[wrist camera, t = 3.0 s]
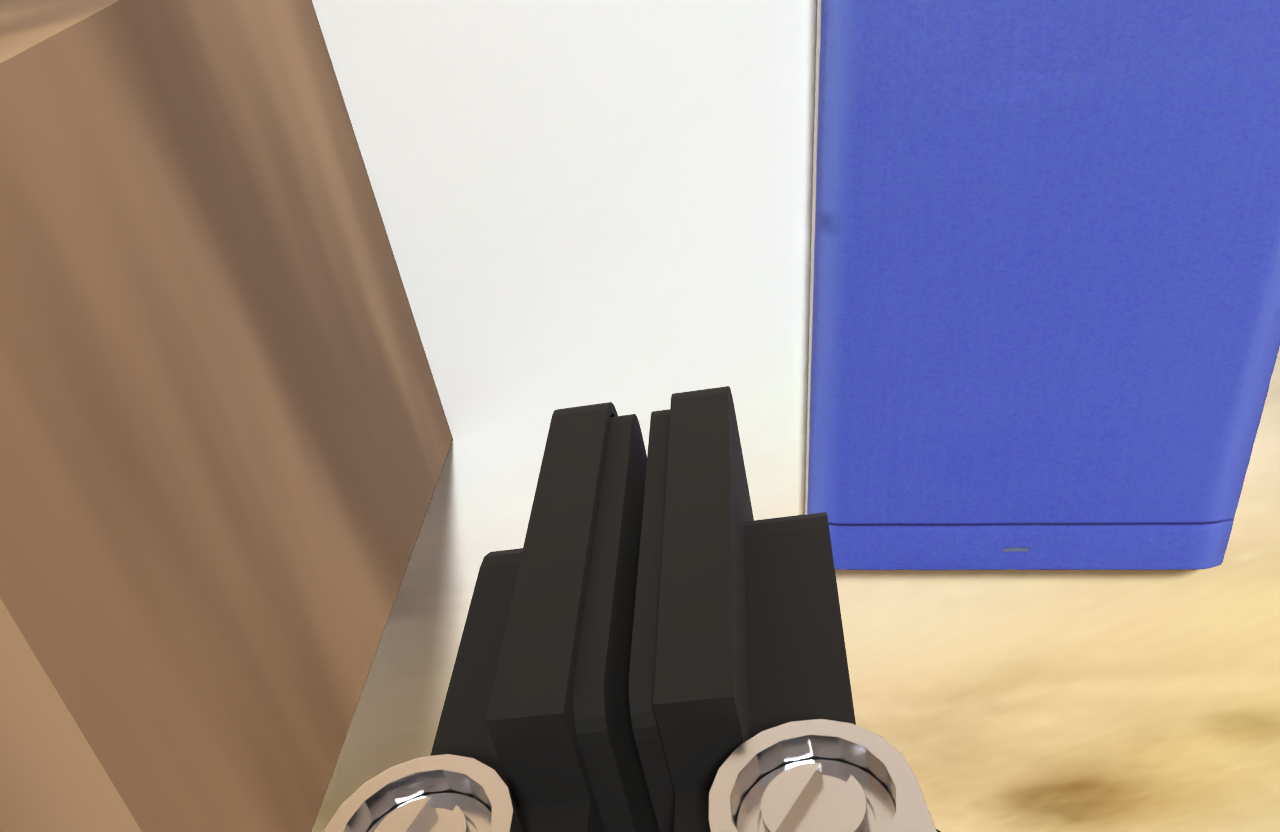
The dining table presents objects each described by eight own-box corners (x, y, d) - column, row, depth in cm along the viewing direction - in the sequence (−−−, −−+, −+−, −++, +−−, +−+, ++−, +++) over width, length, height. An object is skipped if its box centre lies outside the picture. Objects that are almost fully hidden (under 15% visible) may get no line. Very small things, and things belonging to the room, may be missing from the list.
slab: (284, -87, 19) (-246, 193, 9) (452, 438, 24) (248, 1005, 14) (54, -40, 19) (-694, 273, 9) (267, 462, 24) (-62, 1023, 14)
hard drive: (823, -91, 17) (806, 573, 24) (1415, -119, 17) (1229, 573, 23) (817, -108, 19) (802, 525, 25) (1364, -134, 18) (1202, 524, 24)
